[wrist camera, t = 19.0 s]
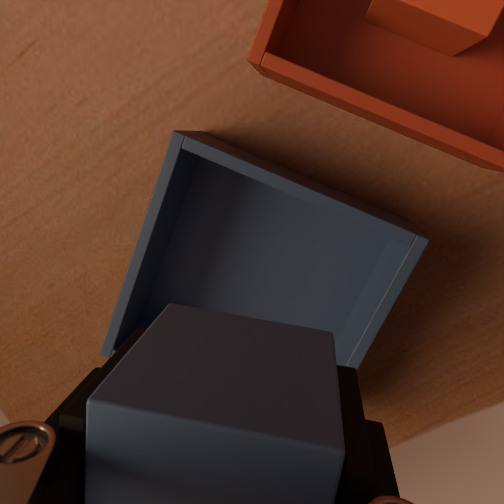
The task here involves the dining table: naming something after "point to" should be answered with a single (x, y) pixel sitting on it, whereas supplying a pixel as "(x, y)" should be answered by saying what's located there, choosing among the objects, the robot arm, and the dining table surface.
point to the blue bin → (263, 248)
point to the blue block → (217, 415)
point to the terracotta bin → (388, 75)
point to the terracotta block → (437, 21)
